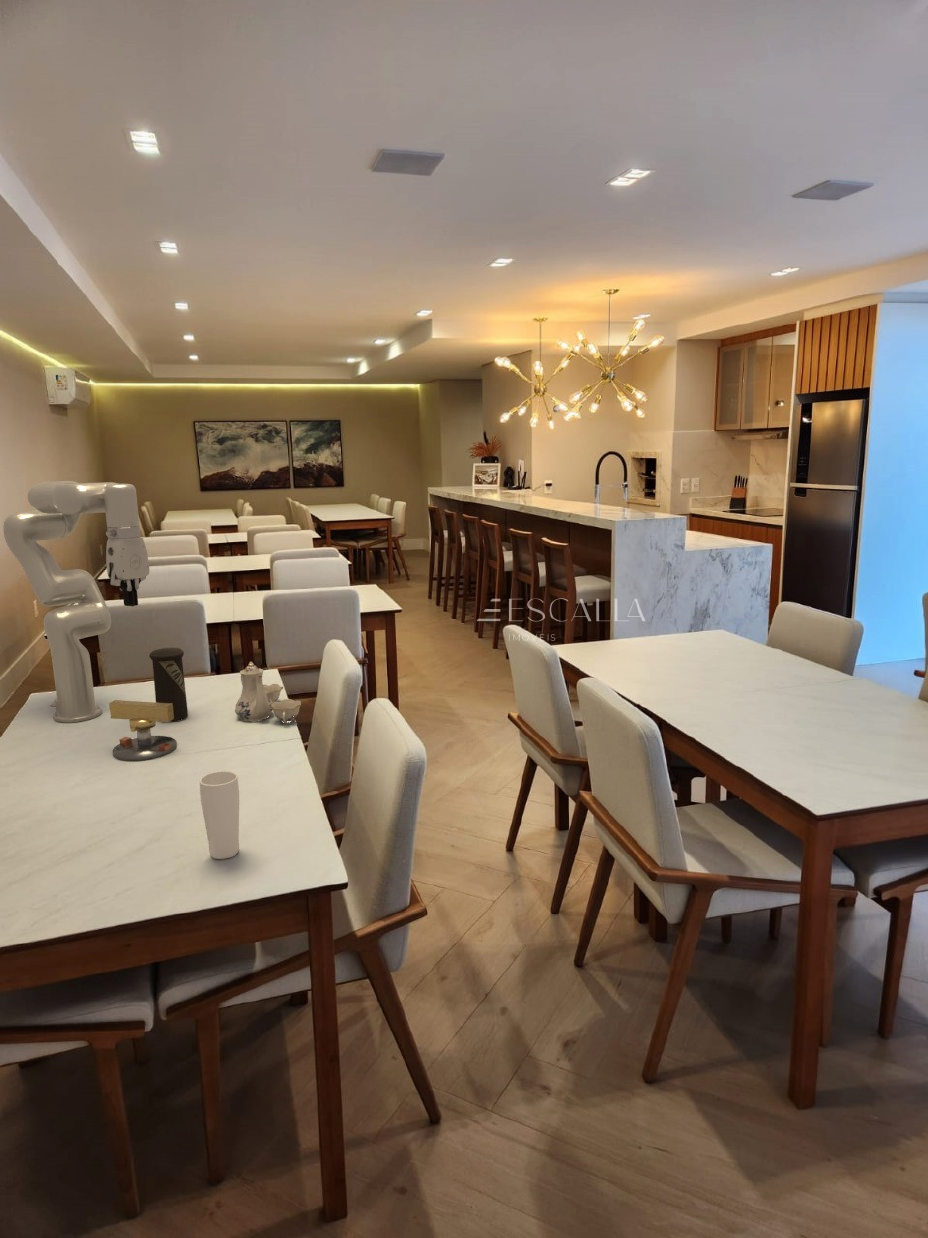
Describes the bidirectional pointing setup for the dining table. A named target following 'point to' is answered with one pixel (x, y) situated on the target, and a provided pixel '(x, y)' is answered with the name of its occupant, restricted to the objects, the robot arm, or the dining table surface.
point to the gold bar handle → (141, 713)
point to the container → (170, 680)
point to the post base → (143, 753)
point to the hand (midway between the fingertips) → (131, 605)
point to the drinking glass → (221, 812)
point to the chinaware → (262, 698)
